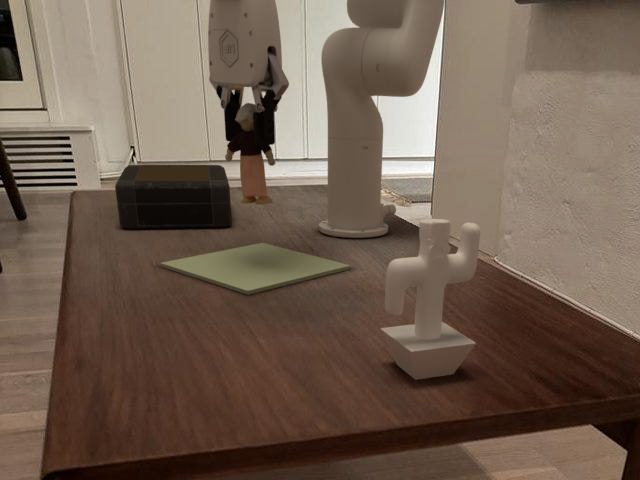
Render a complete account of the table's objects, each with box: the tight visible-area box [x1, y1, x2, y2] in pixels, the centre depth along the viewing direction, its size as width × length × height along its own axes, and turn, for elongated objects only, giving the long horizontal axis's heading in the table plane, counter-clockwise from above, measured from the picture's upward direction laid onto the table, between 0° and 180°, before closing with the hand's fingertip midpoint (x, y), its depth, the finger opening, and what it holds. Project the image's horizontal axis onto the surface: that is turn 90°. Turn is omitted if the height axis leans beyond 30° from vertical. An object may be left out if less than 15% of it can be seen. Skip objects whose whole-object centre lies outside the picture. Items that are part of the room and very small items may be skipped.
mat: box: [160, 242, 351, 296], centre depth 110 cm, size 20×20×1 cm
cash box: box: [114, 164, 233, 230], centre depth 141 cm, size 25×20×8 cm
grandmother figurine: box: [224, 102, 276, 206], centre depth 102 cm, size 8×4×13 cm, turn 79°
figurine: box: [379, 218, 481, 381], centre depth 73 cm, size 7×9×15 cm
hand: (250, 141), depth 101 cm, fingers closed on grandmother figurine, 5 cm apart
